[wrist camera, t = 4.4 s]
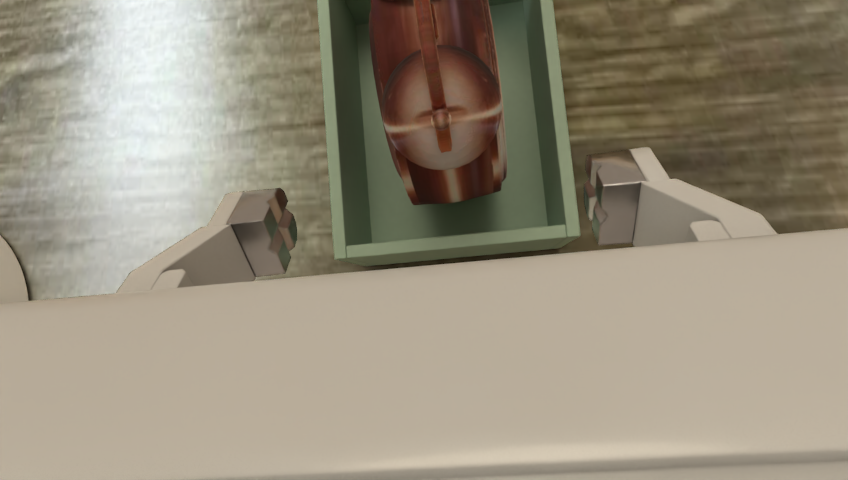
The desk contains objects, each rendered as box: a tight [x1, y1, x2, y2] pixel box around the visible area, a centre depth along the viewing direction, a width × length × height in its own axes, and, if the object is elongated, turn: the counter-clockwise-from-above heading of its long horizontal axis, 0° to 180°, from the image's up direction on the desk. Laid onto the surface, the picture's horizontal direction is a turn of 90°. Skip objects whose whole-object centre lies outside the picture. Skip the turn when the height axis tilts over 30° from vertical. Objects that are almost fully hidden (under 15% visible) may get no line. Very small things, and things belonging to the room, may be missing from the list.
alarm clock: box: [369, 0, 507, 205], centre depth 23 cm, size 11×5×15 cm, turn 8°
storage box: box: [317, 0, 581, 266], centre depth 27 cm, size 11×15×6 cm
